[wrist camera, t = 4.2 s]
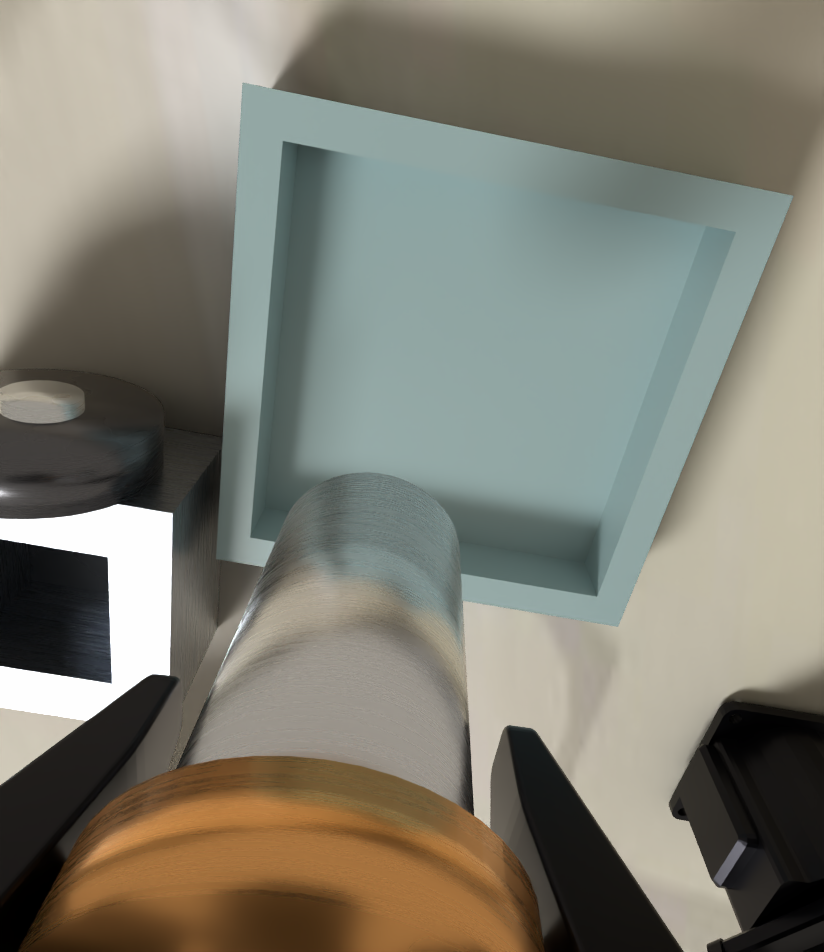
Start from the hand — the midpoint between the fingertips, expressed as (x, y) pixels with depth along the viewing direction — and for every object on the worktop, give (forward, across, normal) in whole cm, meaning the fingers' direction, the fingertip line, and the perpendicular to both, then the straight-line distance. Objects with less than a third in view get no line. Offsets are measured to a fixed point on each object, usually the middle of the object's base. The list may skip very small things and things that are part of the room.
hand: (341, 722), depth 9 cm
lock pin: (+4, 0, 0) cm, 4 cm away
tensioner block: (+13, +9, +5) cm, 16 cm away
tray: (+13, -2, -2) cm, 13 cm away
